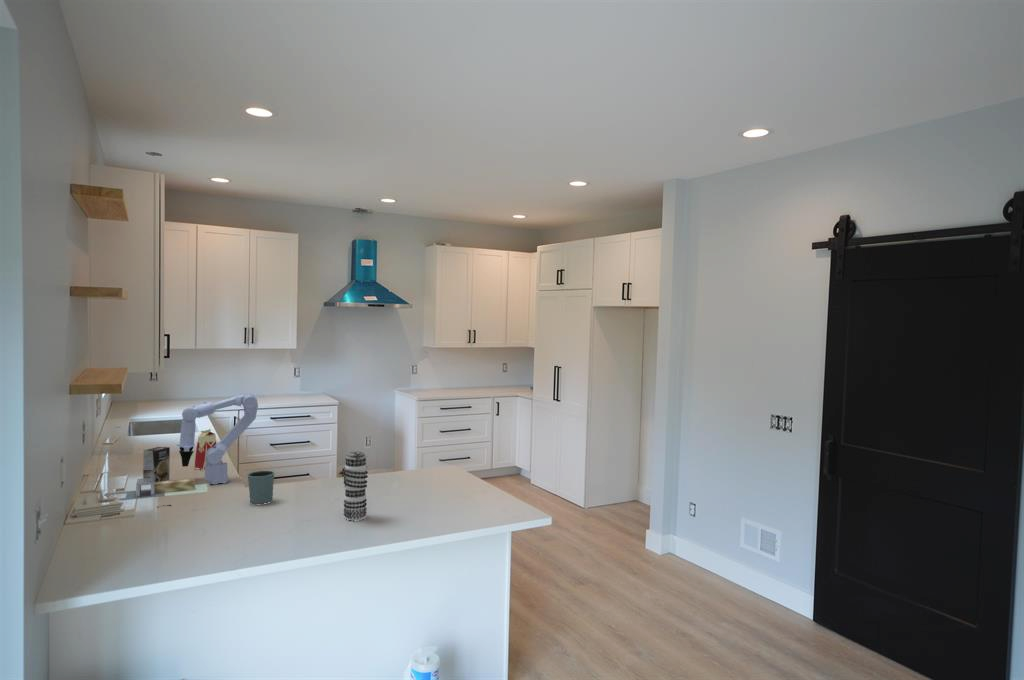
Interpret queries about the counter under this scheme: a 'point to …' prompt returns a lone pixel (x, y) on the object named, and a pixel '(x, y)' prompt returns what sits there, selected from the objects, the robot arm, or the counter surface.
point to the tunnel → (145, 482)
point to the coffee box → (157, 463)
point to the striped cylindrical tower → (355, 486)
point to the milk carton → (204, 448)
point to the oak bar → (174, 486)
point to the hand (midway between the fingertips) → (185, 464)
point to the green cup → (261, 486)
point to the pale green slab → (148, 493)
